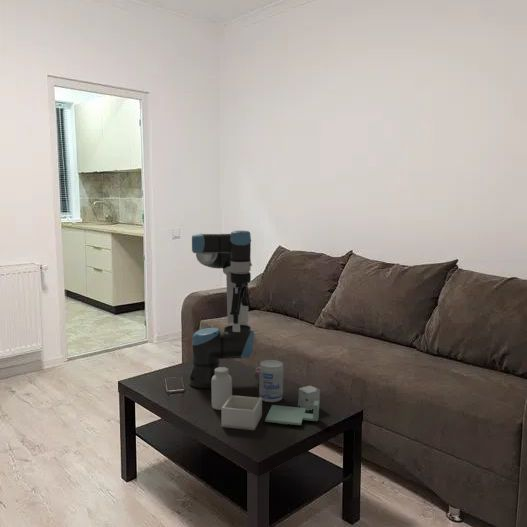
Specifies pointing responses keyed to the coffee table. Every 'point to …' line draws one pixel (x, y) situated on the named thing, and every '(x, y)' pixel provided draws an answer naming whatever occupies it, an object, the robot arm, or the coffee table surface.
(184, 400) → the coffee table surface
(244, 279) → the robot arm
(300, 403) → the skincare box
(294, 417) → the lid
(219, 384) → the pill bottle
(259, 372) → the video game controller
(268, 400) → the supplement tub
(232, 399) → the box
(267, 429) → the coffee table surface
